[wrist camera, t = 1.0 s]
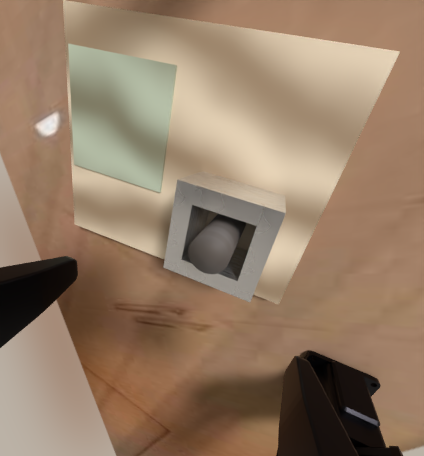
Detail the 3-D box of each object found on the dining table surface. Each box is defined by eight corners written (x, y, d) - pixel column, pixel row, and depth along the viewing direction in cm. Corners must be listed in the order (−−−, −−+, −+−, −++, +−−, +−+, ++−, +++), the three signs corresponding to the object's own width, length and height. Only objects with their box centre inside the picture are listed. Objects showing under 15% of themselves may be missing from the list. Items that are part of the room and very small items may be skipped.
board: (278, 293, 20) (276, 368, 13) (86, 220, 24) (10, 248, 17) (387, 61, 12) (508, -36, 6) (80, 11, 17) (-57, -79, 10)
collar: (257, 267, 18) (250, 302, 14) (188, 242, 19) (163, 267, 15) (285, 195, 15) (285, 213, 11) (203, 171, 16) (177, 179, 12)
